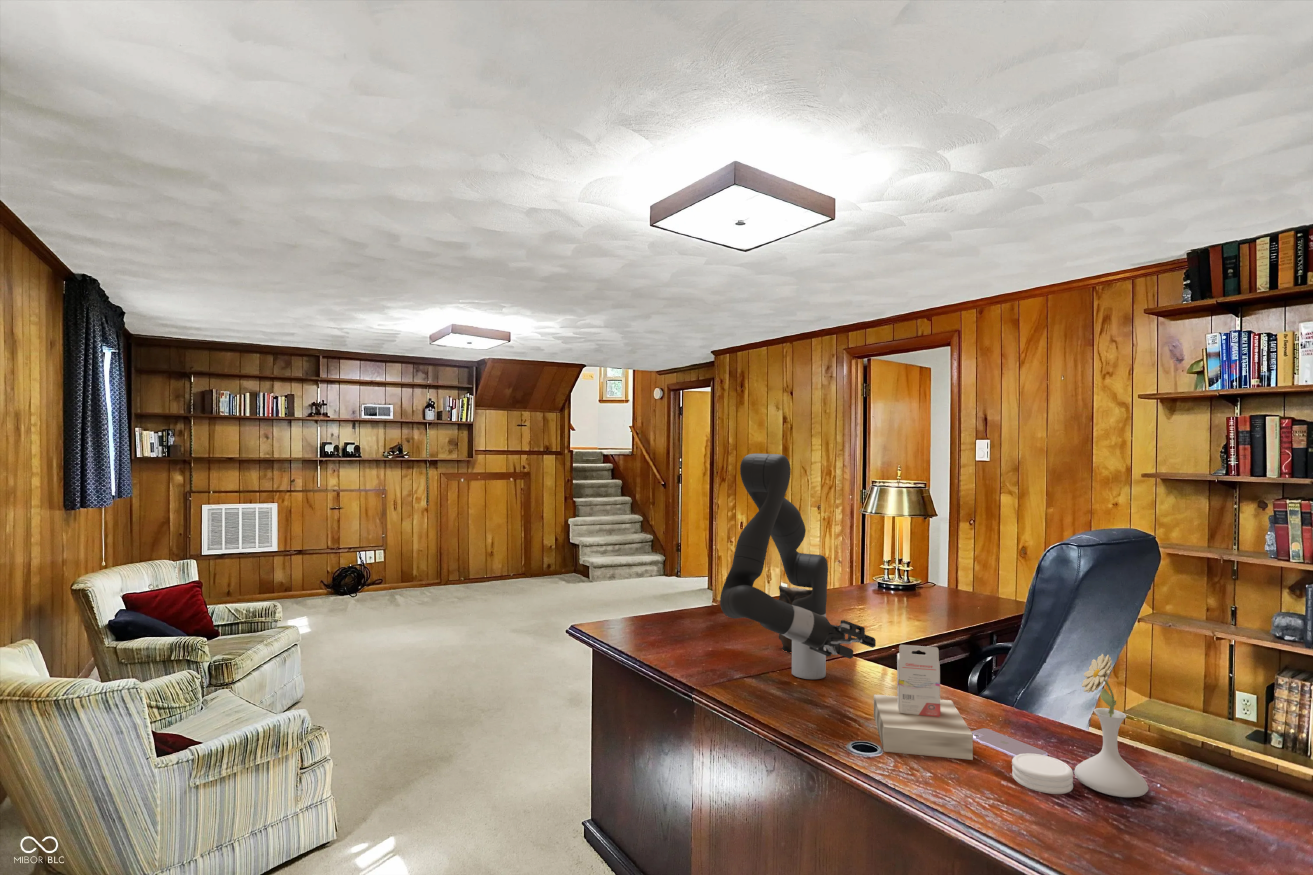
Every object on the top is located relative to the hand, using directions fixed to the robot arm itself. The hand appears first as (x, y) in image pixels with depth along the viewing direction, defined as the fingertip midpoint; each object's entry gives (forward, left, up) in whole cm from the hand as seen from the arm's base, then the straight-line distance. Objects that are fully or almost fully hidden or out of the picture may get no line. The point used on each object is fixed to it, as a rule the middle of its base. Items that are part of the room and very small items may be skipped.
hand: (863, 648), depth 161 cm
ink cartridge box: (+8, +11, -11) cm, 17 cm away
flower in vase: (+27, +41, -16) cm, 51 cm away
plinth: (+9, +11, -16) cm, 21 cm away
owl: (-53, -13, -16) cm, 57 cm away
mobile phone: (+9, +28, -16) cm, 34 cm away
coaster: (+26, +30, -16) cm, 43 cm away
